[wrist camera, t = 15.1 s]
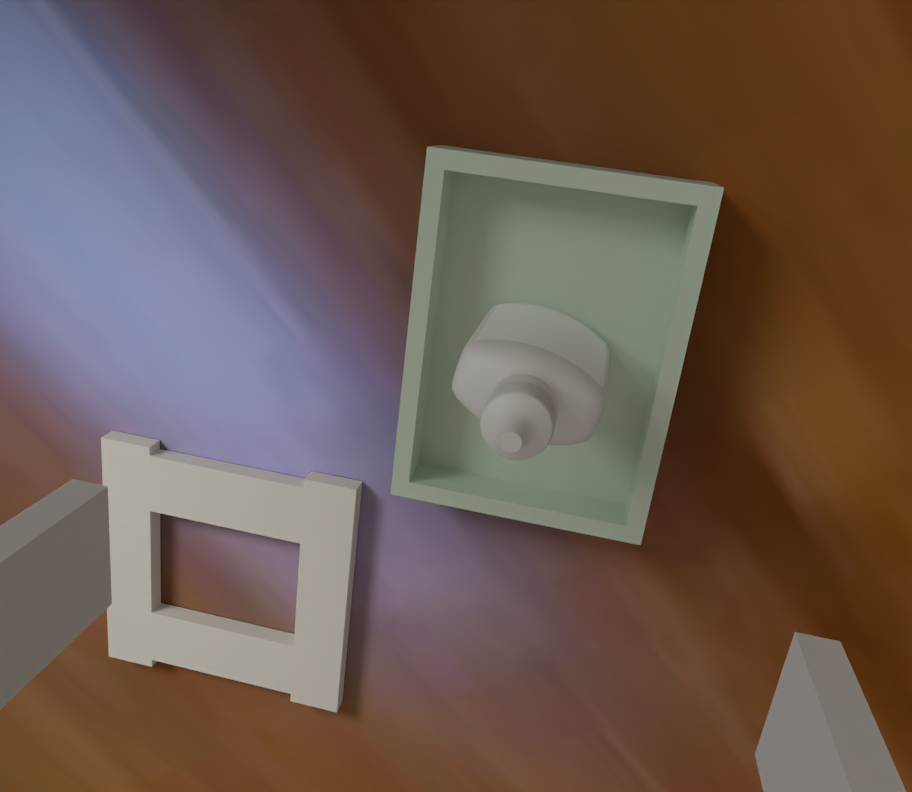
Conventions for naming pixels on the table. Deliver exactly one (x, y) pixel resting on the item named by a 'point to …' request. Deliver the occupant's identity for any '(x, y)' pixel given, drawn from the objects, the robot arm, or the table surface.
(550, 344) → the eye dropper bottle
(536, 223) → the tray
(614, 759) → the table surface
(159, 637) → the socket plate
